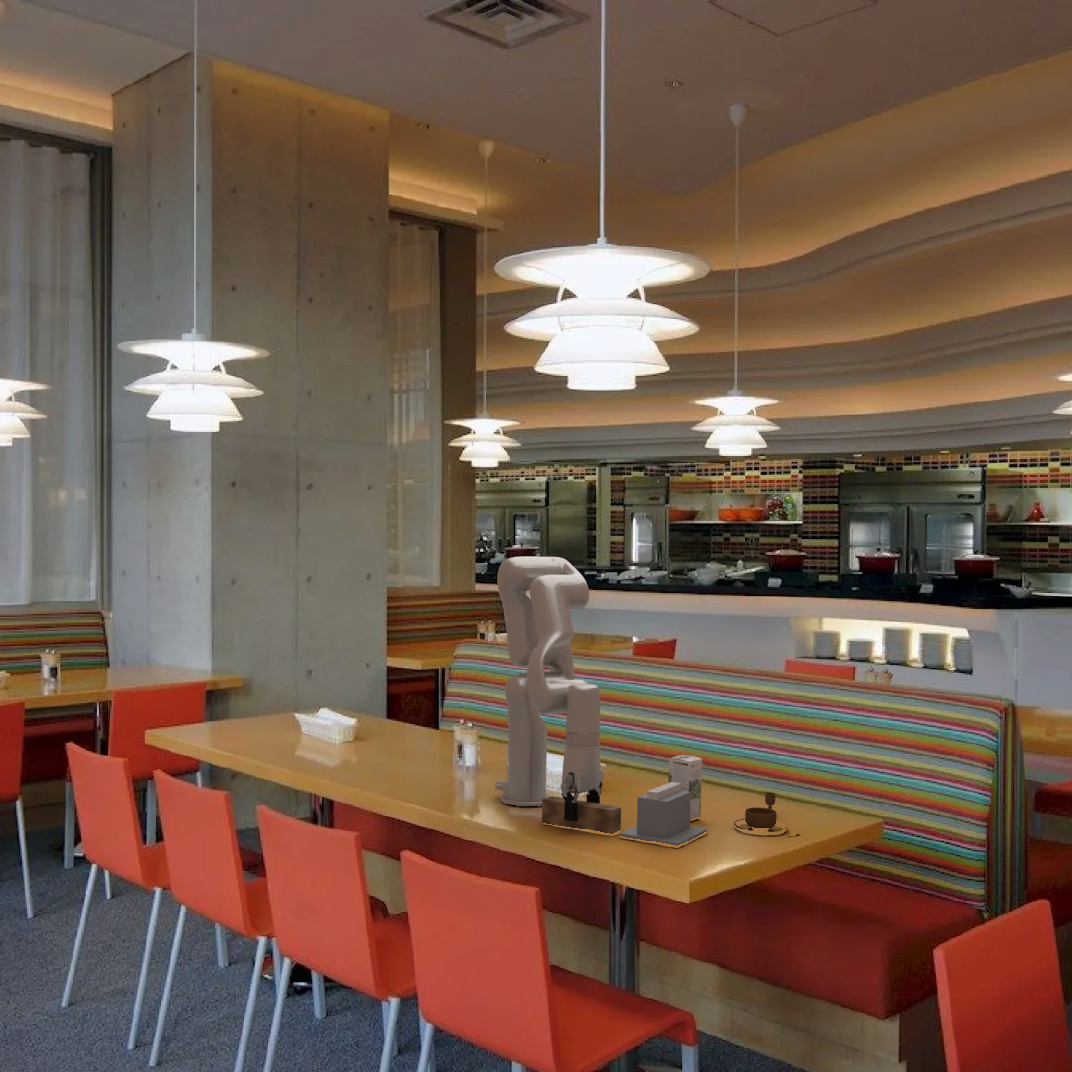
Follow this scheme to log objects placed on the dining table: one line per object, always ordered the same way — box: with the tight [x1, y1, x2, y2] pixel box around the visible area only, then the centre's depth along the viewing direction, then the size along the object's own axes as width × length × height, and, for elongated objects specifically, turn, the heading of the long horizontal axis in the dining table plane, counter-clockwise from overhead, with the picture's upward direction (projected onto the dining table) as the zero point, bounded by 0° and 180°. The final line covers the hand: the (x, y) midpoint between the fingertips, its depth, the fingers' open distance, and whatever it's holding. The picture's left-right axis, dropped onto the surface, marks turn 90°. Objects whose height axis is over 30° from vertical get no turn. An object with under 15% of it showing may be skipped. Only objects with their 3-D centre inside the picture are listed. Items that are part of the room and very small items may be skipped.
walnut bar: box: [541, 795, 622, 834], centre depth 264 cm, size 18×4×6 cm, turn 58°
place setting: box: [733, 791, 788, 829], centre depth 269 cm, size 18×20×6 cm
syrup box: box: [667, 754, 703, 820], centre depth 275 cm, size 6×6×14 cm
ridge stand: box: [618, 782, 708, 846], centre depth 259 cm, size 14×15×11 cm
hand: (582, 816), depth 263 cm, fingers open, 9 cm apart
